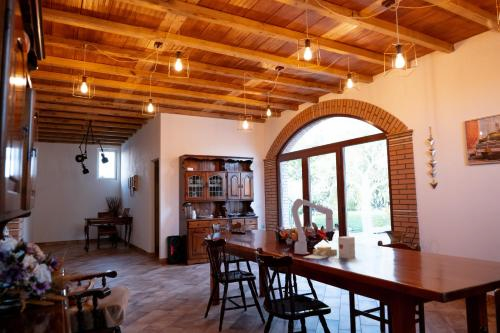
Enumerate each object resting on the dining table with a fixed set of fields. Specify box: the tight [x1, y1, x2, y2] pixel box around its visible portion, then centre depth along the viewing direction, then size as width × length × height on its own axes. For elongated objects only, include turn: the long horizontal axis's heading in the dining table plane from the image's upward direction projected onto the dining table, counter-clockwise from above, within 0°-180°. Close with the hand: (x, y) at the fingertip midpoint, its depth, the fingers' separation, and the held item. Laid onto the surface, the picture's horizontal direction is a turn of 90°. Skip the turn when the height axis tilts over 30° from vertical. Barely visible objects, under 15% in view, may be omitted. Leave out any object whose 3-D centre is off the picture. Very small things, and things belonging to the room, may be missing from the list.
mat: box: [303, 254, 329, 260], centre depth 268 cm, size 14×13×1 cm
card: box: [316, 245, 332, 251], centre depth 277 cm, size 9×6×2 cm, turn 46°
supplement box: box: [337, 236, 356, 260], centre depth 265 cm, size 9×9×15 cm
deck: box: [312, 248, 338, 258], centre depth 278 cm, size 14×12×4 cm
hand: (330, 240), depth 284 cm, fingers closed
